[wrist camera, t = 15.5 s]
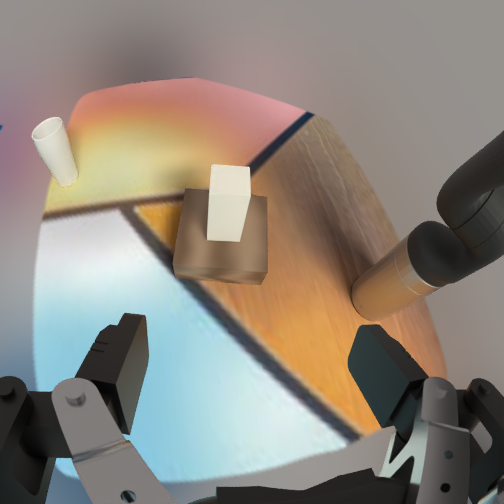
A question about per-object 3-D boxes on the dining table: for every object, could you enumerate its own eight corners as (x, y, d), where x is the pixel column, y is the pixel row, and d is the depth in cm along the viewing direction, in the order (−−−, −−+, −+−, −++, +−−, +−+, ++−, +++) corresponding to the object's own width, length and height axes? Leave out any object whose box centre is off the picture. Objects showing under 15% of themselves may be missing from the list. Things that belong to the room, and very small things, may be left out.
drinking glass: (70, 164, 53) (51, 113, 39) (87, 174, 52) (68, 120, 39) (50, 184, 49) (25, 135, 36) (66, 196, 49) (41, 144, 36)
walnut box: (260, 216, 54) (267, 196, 49) (260, 286, 48) (267, 272, 43) (186, 208, 52) (185, 188, 47) (175, 278, 46) (172, 263, 41)
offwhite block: (239, 215, 46) (249, 167, 37) (239, 241, 44) (250, 195, 34) (208, 213, 46) (211, 164, 36) (206, 240, 43) (209, 193, 34)
